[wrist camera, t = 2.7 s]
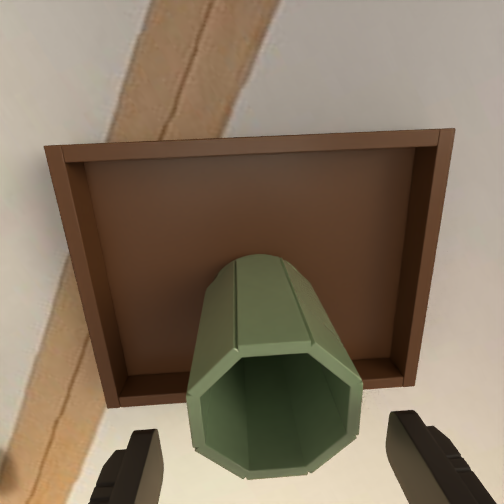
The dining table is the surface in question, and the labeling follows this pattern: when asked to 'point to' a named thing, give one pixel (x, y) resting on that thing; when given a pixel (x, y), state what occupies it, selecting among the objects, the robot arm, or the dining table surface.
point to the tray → (250, 242)
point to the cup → (269, 374)
